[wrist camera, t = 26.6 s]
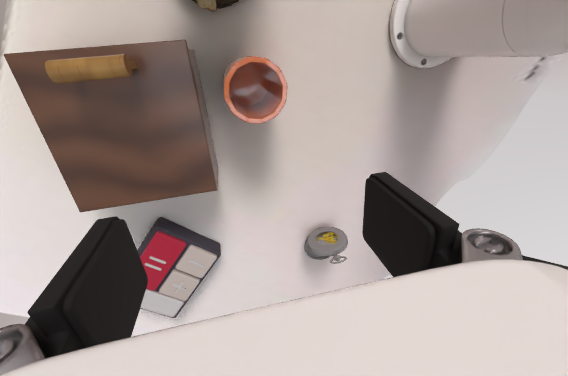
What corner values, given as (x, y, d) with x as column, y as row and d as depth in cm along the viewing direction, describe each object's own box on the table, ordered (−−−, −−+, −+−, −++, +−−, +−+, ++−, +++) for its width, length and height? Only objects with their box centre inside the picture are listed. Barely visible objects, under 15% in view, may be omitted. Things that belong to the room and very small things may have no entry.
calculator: (222, 257, 43) (174, 322, 46) (221, 241, 47) (177, 303, 50) (155, 228, 39) (106, 303, 42) (160, 214, 43) (115, 283, 46)
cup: (258, 47, 35) (270, 44, 26) (278, 94, 38) (296, 106, 29) (214, 70, 35) (211, 75, 26) (238, 115, 38) (243, 133, 29)
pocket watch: (319, 261, 53) (338, 302, 44) (290, 239, 49) (305, 279, 41) (350, 234, 52) (377, 271, 43) (323, 209, 48) (346, 244, 39)
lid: (8, 54, 25) (-37, 53, 21) (186, 39, 27) (179, 36, 23) (82, 209, 32) (61, 233, 28) (217, 187, 35) (217, 206, 30)
